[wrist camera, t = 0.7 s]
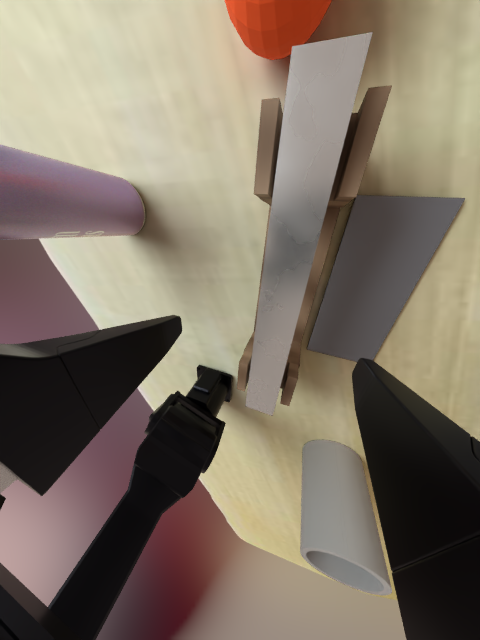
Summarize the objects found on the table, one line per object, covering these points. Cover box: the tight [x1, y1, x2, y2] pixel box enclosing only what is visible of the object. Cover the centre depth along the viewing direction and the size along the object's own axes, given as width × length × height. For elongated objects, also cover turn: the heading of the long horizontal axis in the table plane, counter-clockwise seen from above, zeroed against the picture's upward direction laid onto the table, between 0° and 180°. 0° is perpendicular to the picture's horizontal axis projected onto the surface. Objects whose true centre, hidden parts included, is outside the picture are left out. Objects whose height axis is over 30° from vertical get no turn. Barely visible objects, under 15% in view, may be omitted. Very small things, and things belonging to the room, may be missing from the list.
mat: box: [307, 195, 465, 362], centre depth 17 cm, size 16×7×1 cm, turn 176°
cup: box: [300, 440, 392, 595], centre depth 25 cm, size 9×9×12 cm
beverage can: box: [0, 145, 145, 240], centre depth 16 cm, size 6×6×15 cm
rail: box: [245, 32, 373, 416], centre depth 14 cm, size 24×3×3 cm, turn 176°
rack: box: [237, 86, 392, 406], centre depth 17 cm, size 24×6×7 cm, turn 176°
